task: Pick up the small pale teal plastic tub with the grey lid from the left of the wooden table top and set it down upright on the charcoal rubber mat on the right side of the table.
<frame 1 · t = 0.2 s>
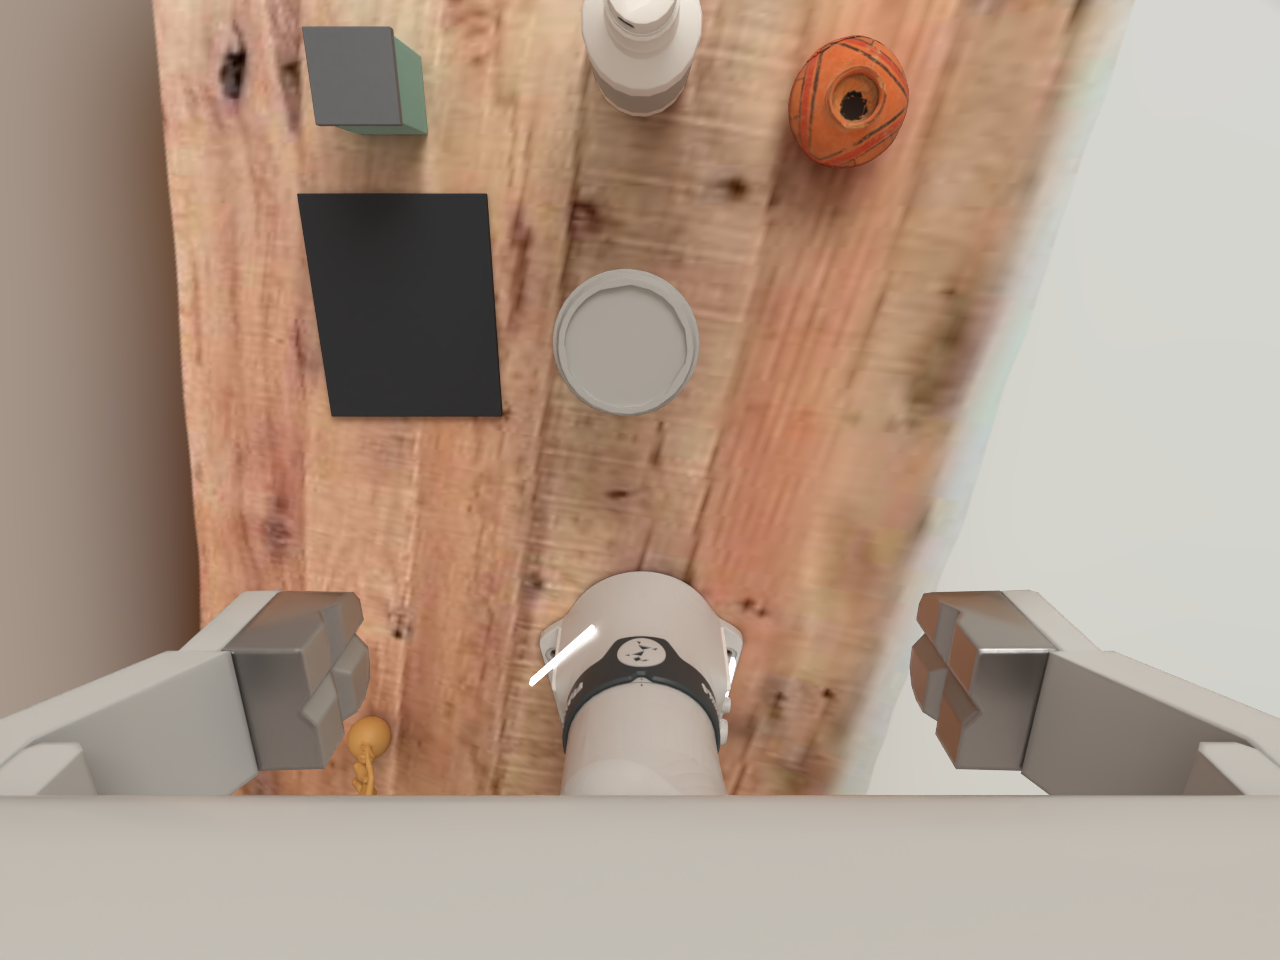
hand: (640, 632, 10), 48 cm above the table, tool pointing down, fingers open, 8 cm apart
pot: (834, 111, 51), on the table
plastic tub: (389, 95, 50), on the table
disposable coffee cup: (628, 322, 56), on the table
figurine: (387, 724, 69), on the table
spray bottle: (641, 64, 50), on the table
mat: (406, 310, 55), on the table
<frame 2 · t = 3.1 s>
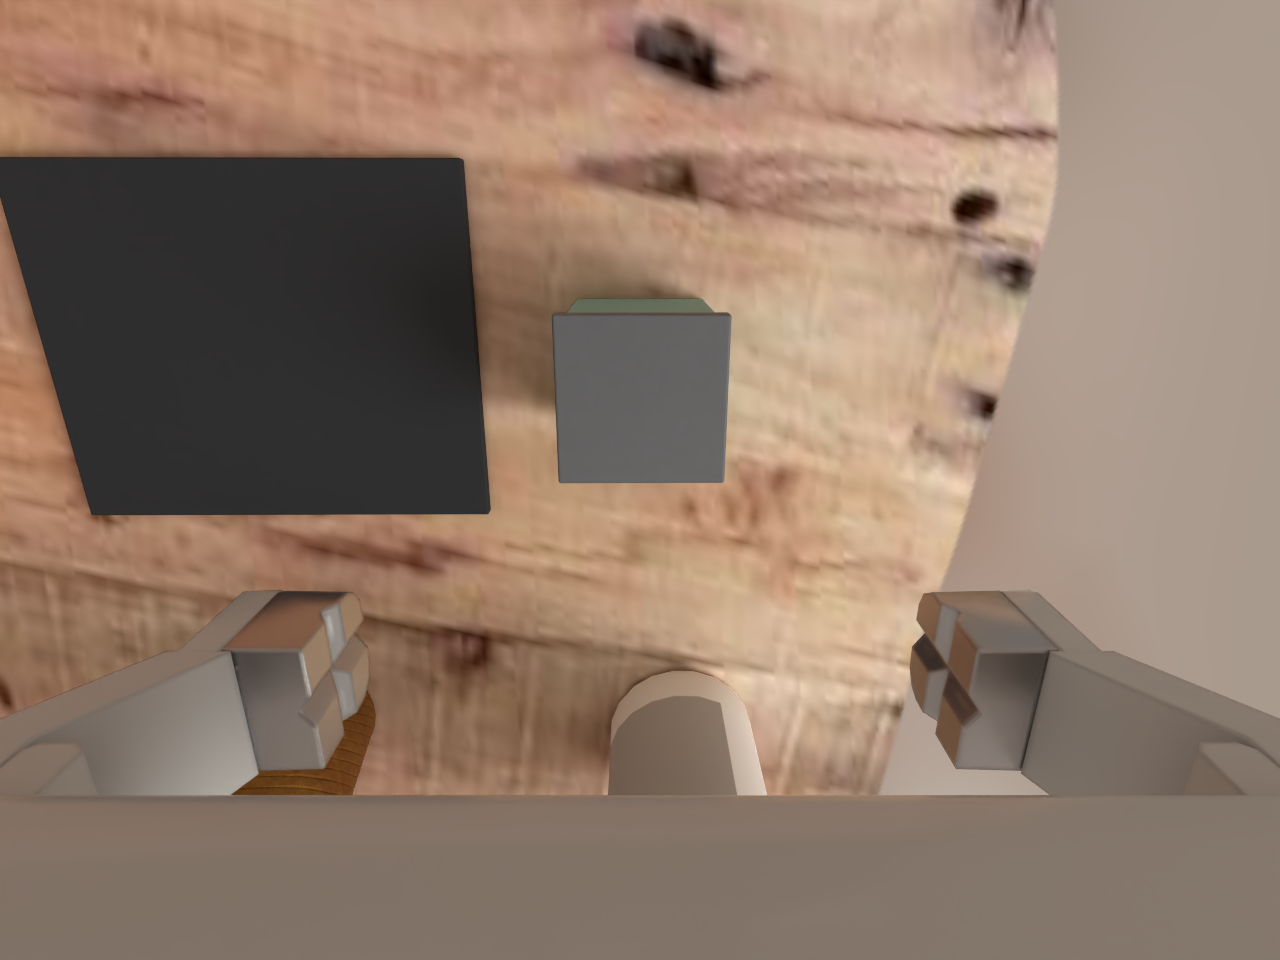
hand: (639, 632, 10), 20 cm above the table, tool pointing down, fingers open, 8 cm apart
plastic tub: (639, 361, 29), on the table
disposable coffee cup: (312, 707, 34), on the table
spray bottle: (679, 722, 35), on the table
mat: (266, 349, 28), on the table
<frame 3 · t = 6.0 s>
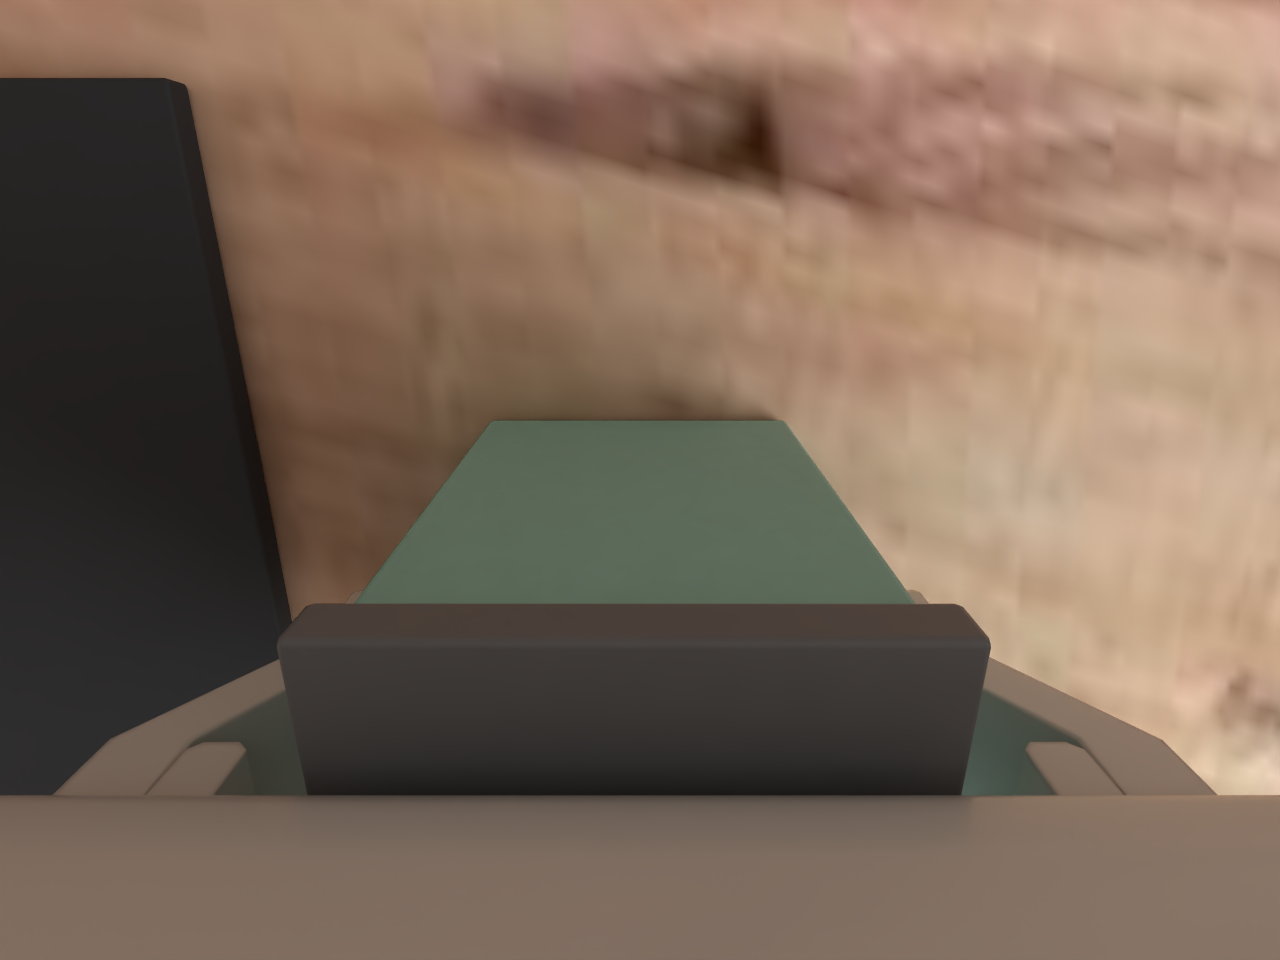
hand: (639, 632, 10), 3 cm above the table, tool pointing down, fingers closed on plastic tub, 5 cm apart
plastic tub: (637, 552, 13), on the table, touching gripper
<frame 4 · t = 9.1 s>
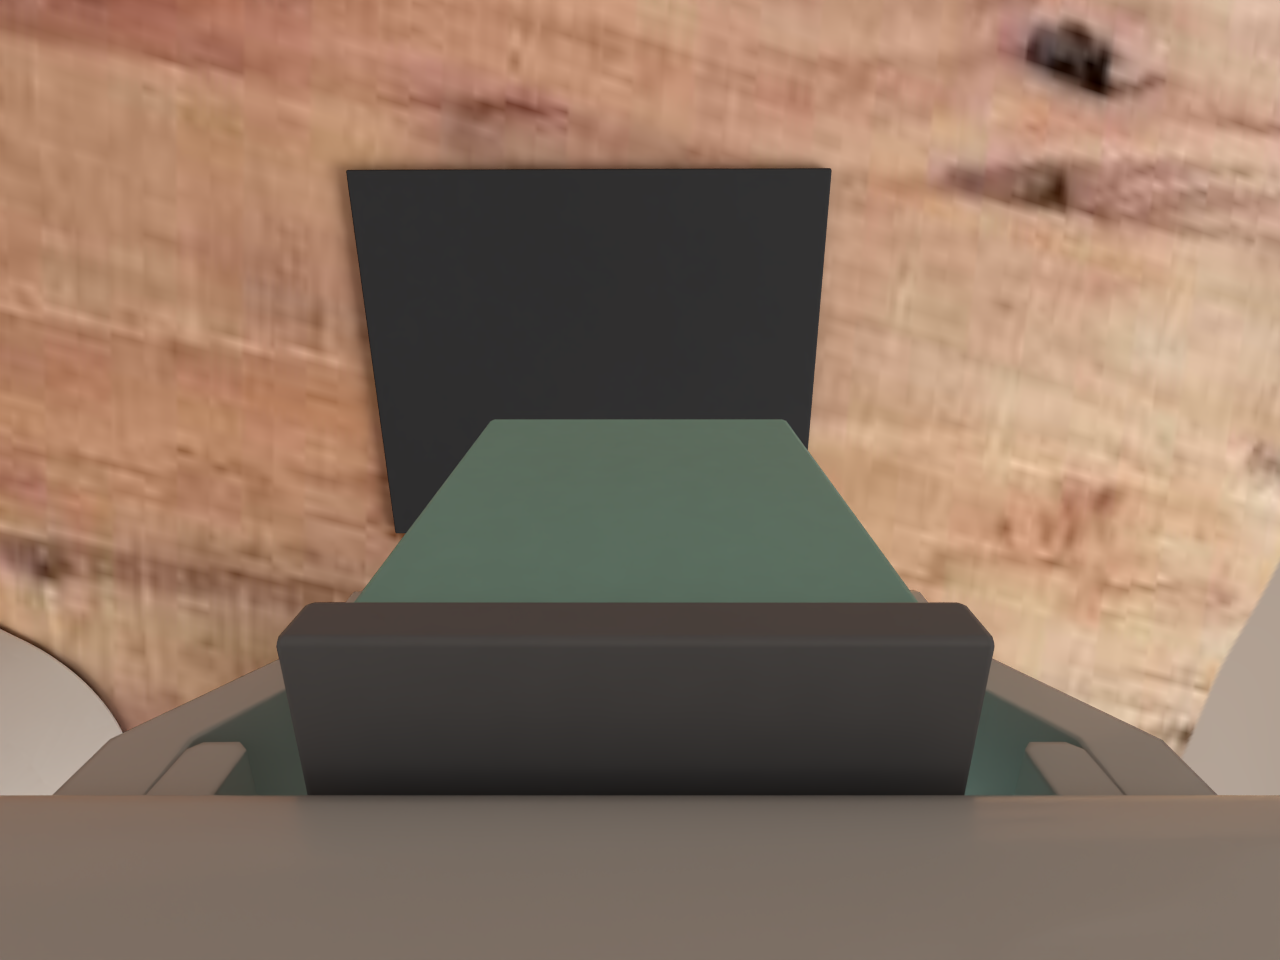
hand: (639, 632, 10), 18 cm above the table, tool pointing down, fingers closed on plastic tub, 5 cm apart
plastic tub: (638, 551, 13), point 16 cm above the table, touching gripper
mat: (593, 365, 27), on the table
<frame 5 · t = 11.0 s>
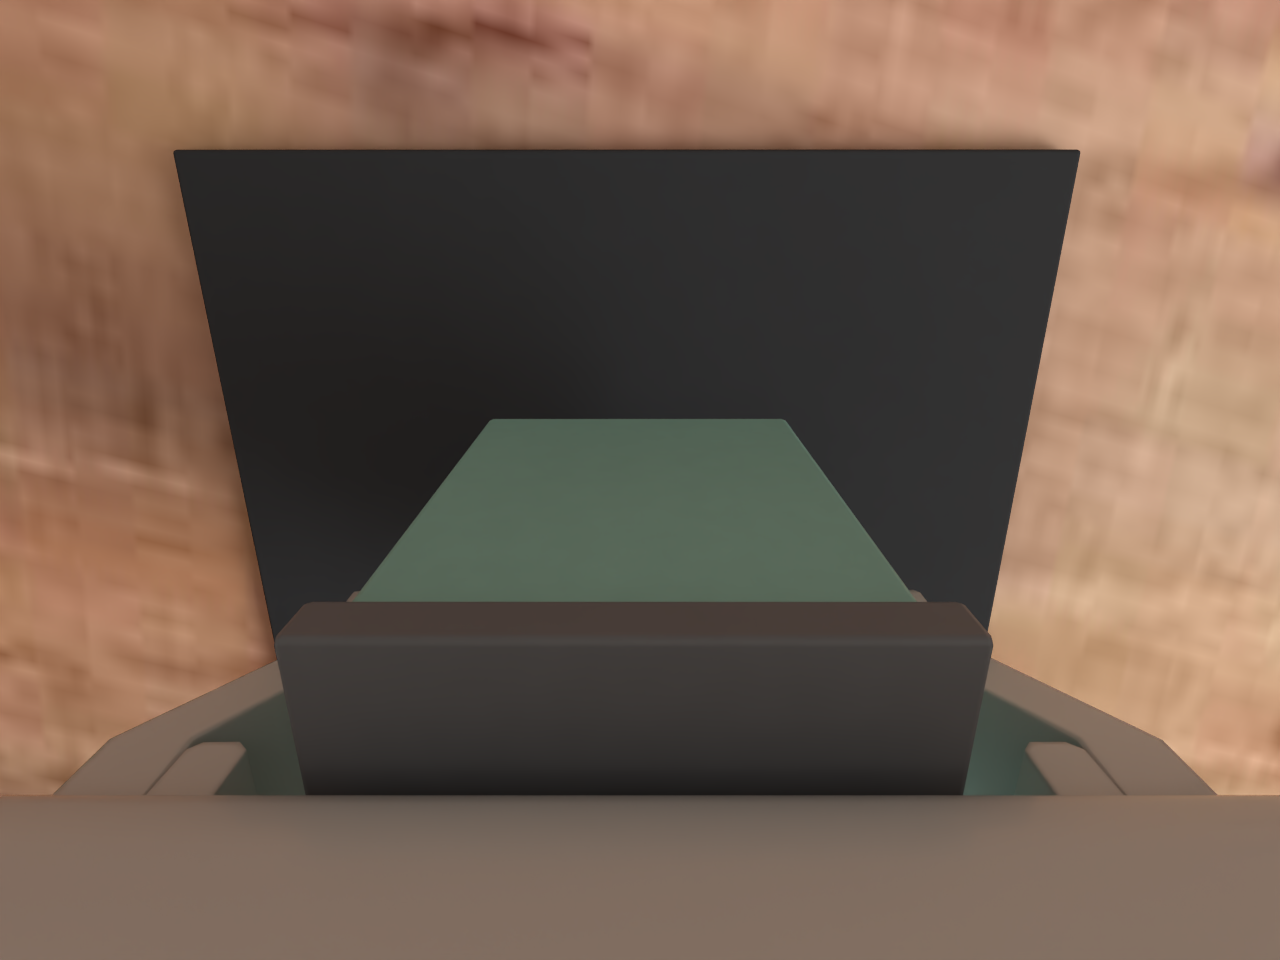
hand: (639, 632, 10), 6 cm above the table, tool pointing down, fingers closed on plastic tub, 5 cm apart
plastic tub: (637, 551, 13), point 3 cm above the table, touching gripper
mat: (630, 490, 16), on the table
when the fingers open (3 cm above the table, at t = 12.4 s): plastic tub stays where it is, resting on mat.
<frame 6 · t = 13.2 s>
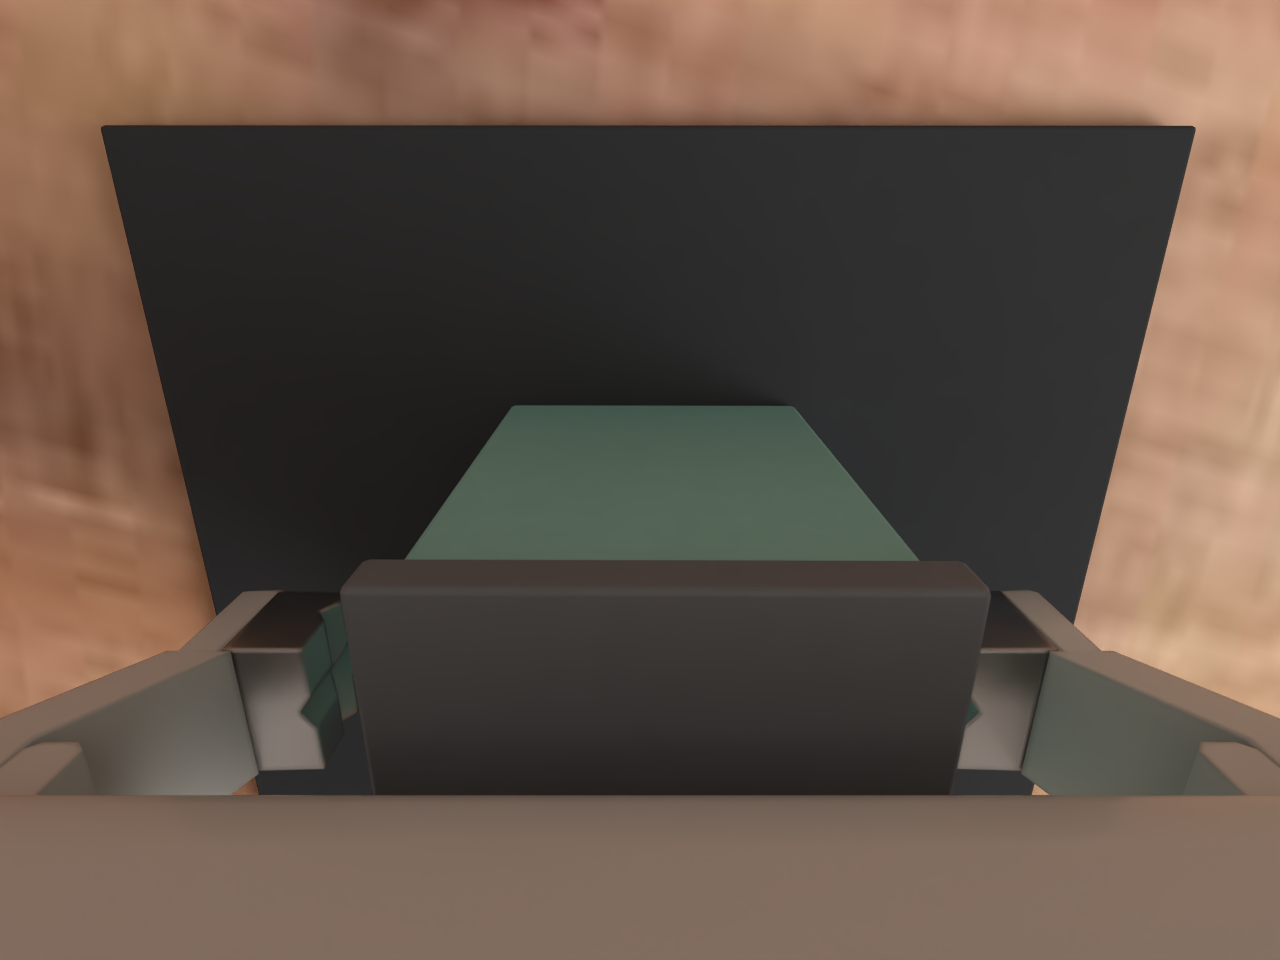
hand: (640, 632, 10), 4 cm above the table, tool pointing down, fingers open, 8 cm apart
plastic tub: (651, 533, 13), resting on mat
mat: (645, 526, 14), on the table
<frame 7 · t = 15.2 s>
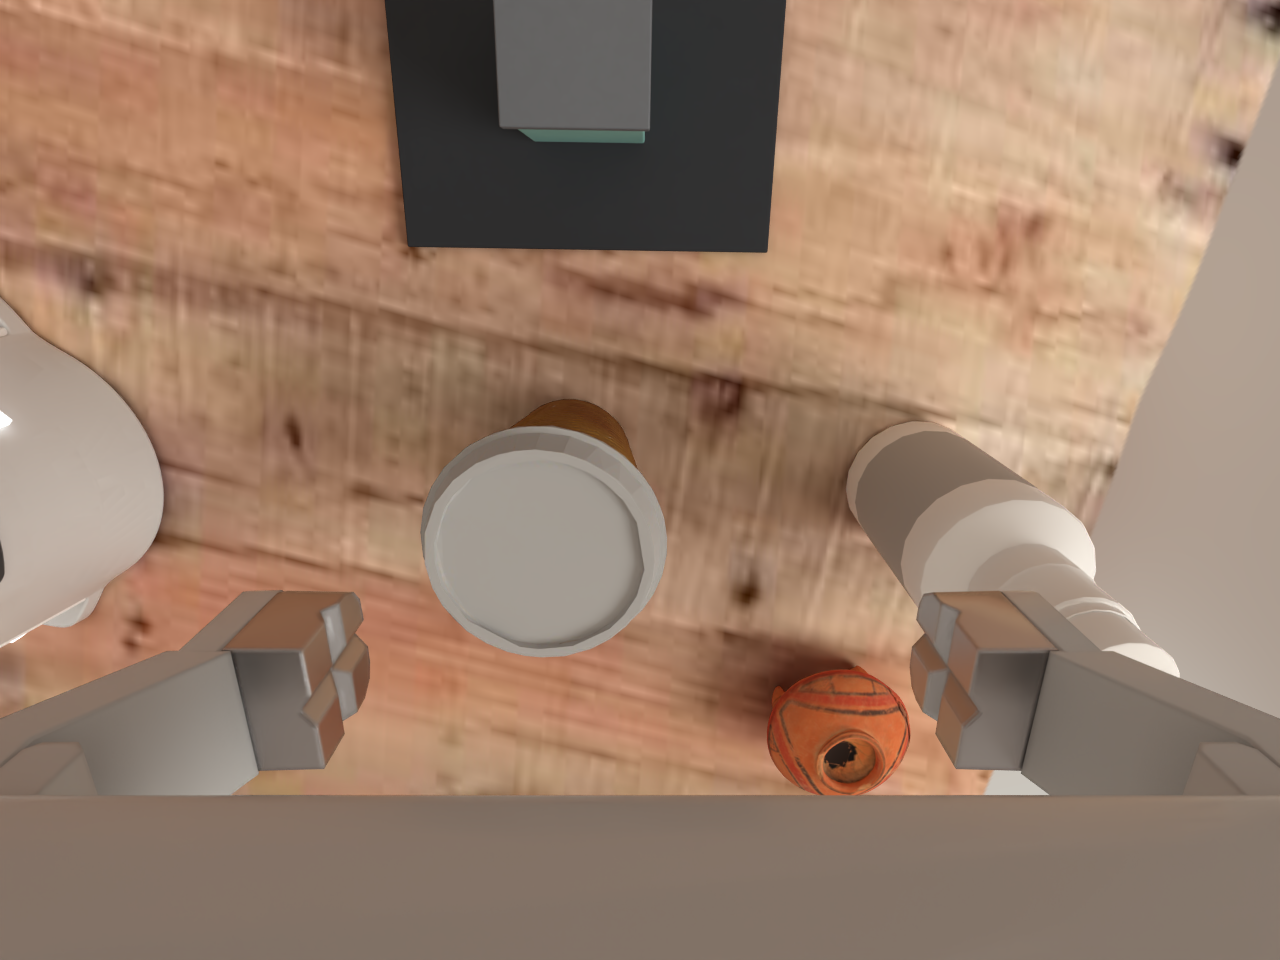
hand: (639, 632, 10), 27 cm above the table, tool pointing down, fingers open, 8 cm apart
pot: (823, 694, 43), on the table
plastic tub: (588, 79, 31), resting on mat
disposable coffee cup: (571, 455, 37), on the table
spray bottle: (906, 479, 38), on the table
mat: (586, 83, 31), on the table
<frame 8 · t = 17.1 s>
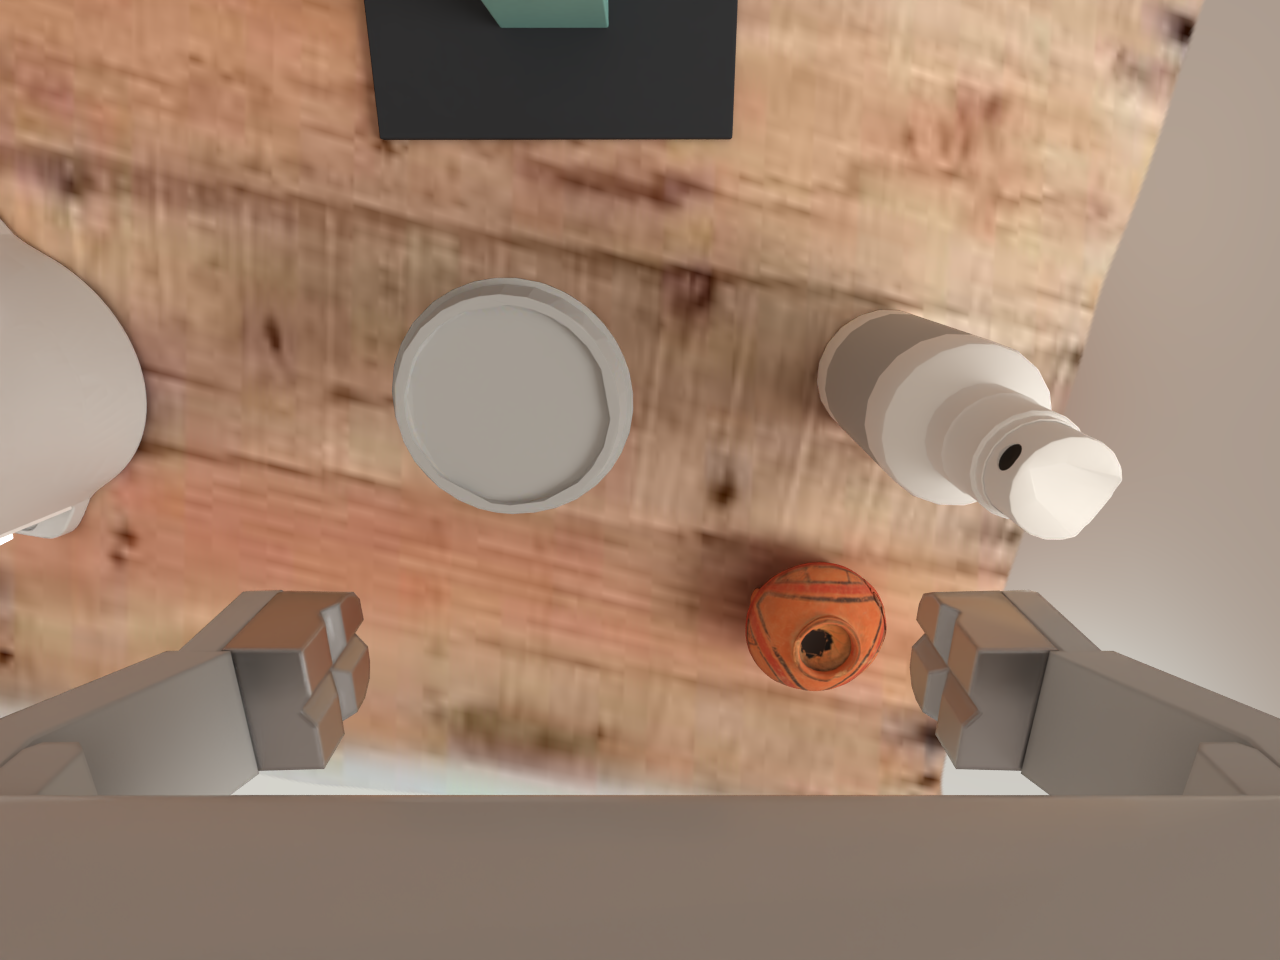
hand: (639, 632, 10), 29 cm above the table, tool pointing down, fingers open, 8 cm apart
pot: (802, 597, 43), on the table
disposable coffee cup: (547, 353, 38), on the table
spray bottle: (876, 371, 38), on the table
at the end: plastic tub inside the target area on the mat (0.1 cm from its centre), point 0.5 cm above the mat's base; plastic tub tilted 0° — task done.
